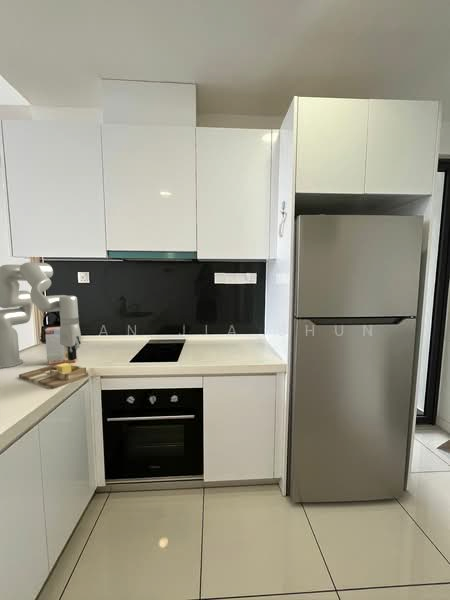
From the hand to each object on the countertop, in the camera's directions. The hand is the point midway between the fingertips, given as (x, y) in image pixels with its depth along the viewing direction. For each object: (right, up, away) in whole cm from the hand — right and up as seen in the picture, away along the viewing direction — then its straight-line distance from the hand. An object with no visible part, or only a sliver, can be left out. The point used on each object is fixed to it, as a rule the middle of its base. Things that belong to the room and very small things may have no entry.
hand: (72, 359), depth 129 cm
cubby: (-3, -8, +3) cm, 9 cm away
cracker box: (-21, -8, +27) cm, 35 cm away
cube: (-7, -8, +4) cm, 11 cm away
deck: (-12, -10, +4) cm, 16 cm away
